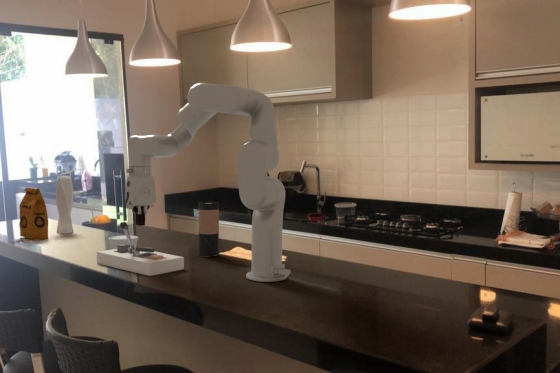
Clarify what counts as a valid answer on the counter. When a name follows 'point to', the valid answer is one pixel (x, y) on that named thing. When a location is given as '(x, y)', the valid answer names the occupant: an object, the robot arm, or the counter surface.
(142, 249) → the black rocker
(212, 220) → the travel mug
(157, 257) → the terracotta button
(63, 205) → the skyscraper
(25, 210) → the coffee package
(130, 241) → the toggle lever
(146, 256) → the control panel
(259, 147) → the robot arm
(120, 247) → the charcoal button
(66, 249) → the counter surface
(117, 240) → the ramekin
